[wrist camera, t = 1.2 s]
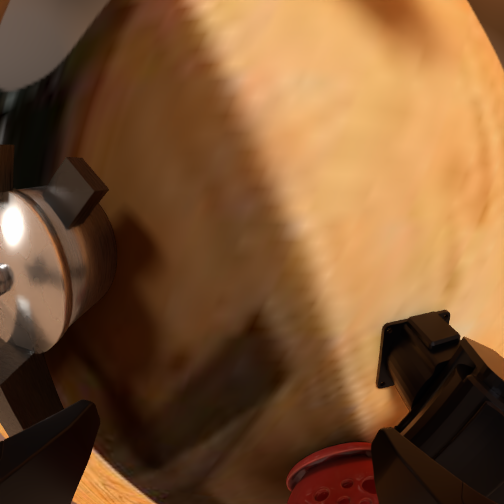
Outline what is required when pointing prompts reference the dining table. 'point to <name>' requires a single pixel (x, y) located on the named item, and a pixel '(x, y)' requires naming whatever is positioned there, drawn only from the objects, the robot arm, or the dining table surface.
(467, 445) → the robot arm
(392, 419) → the dining table surface
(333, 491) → the plant pot
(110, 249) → the pot
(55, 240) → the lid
